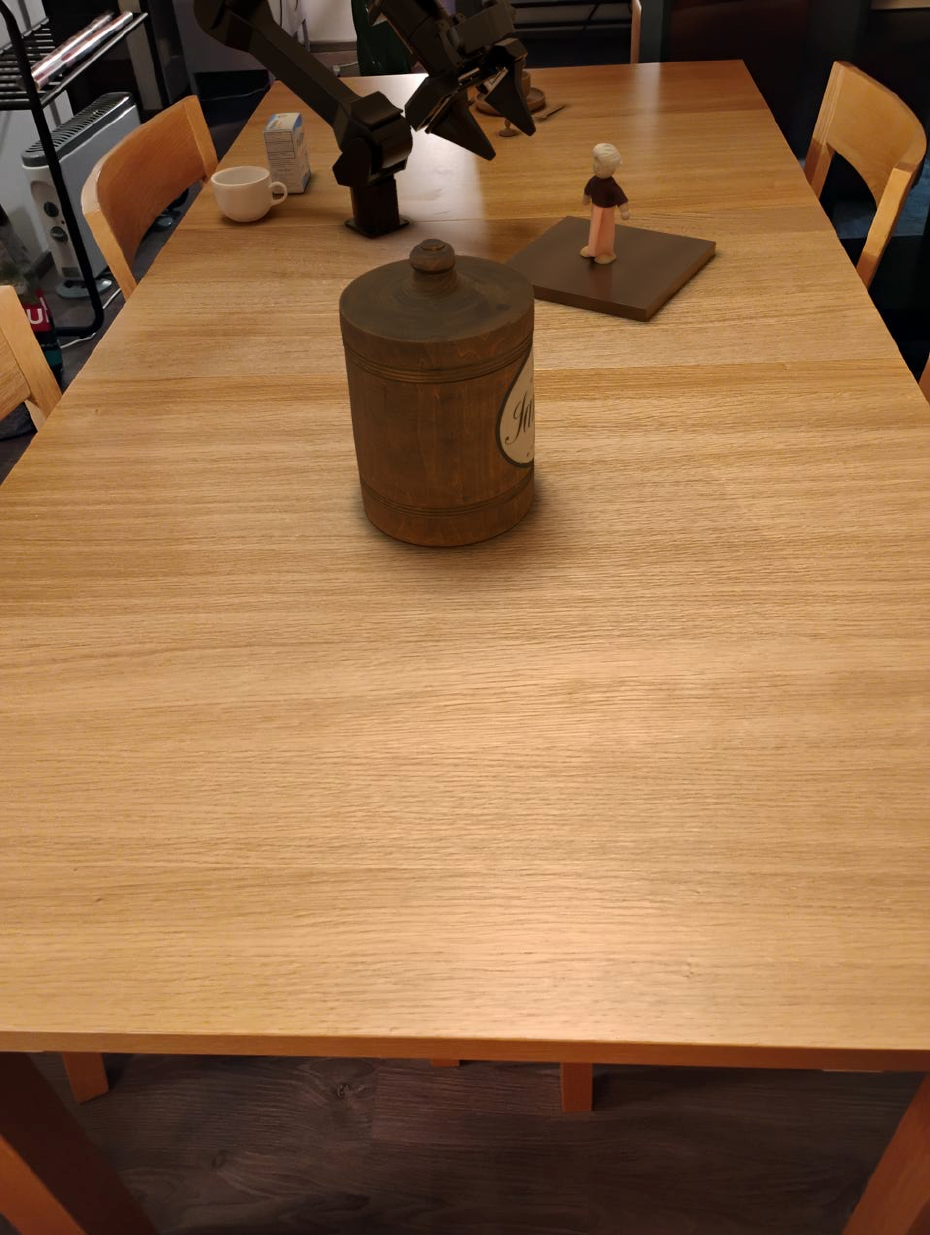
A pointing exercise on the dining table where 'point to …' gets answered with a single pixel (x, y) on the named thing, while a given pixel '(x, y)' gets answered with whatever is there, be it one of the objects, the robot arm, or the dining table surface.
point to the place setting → (533, 98)
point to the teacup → (245, 192)
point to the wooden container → (442, 394)
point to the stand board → (611, 268)
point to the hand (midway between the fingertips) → (513, 145)
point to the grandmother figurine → (604, 203)
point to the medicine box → (287, 152)
